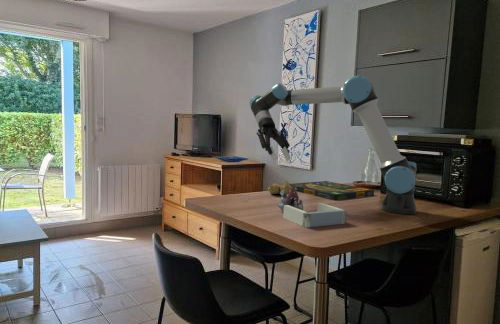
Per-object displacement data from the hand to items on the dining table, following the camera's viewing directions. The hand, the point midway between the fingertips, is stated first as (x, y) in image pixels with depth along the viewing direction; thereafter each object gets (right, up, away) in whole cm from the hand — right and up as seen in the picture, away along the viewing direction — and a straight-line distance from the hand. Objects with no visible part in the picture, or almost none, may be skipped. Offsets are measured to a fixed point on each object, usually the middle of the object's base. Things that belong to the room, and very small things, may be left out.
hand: (281, 159), depth 167 cm
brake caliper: (+3, -23, -6) cm, 24 cm away
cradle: (+10, -24, -19) cm, 32 cm away
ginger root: (+2, -19, +33) cm, 39 cm away
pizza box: (+32, -19, +49) cm, 62 cm away
